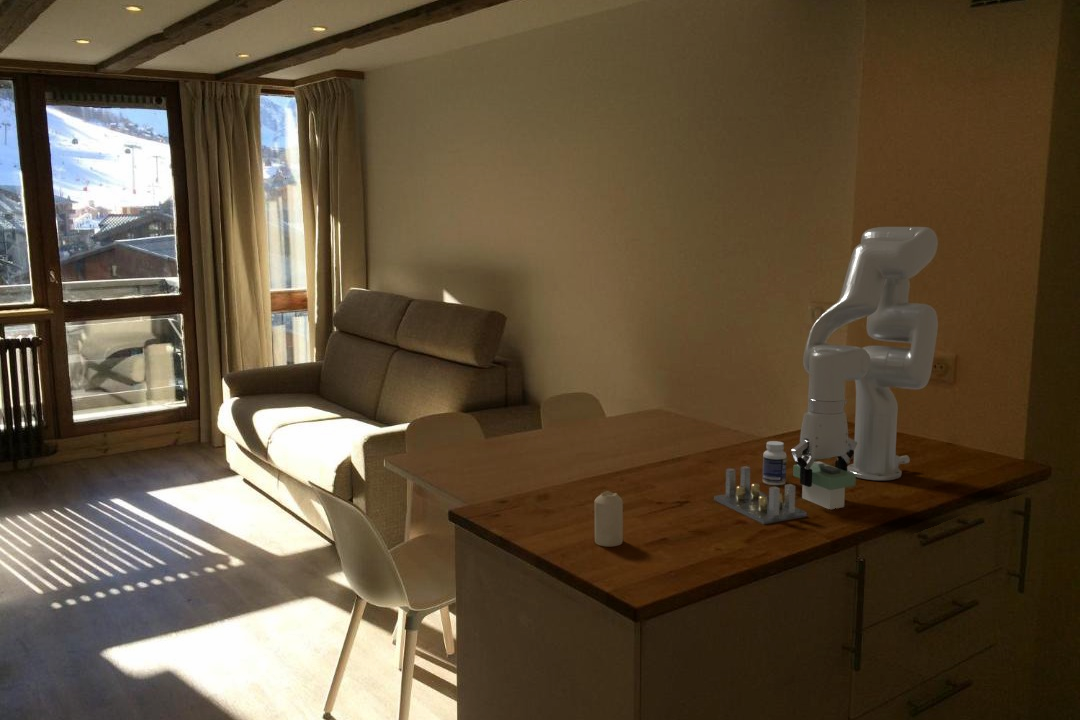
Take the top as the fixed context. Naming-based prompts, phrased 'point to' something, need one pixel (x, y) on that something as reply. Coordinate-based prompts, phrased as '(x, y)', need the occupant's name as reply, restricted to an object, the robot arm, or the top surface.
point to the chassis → (759, 499)
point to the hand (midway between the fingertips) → (823, 482)
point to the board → (828, 476)
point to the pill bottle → (774, 464)
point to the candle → (608, 519)
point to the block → (824, 496)
